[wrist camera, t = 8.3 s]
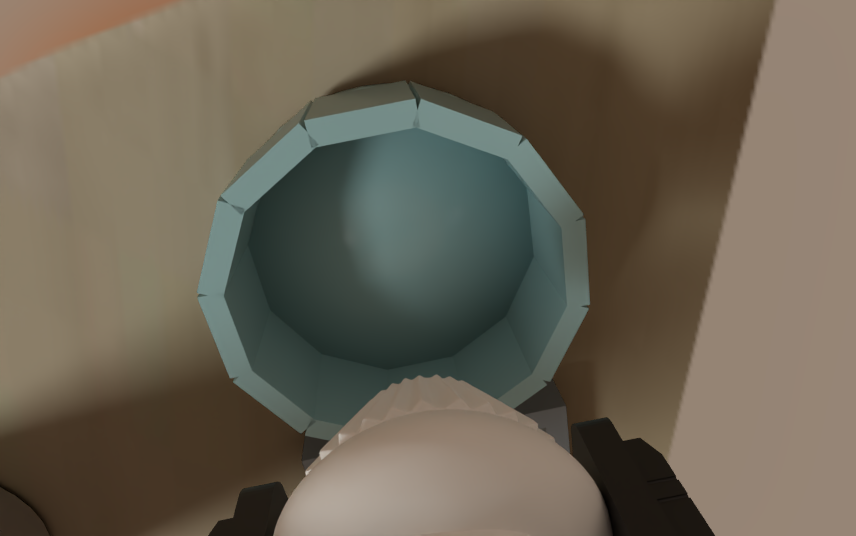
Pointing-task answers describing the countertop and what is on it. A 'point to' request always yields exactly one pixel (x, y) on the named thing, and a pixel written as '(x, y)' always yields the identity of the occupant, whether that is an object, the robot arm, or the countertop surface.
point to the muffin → (443, 472)
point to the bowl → (392, 257)
